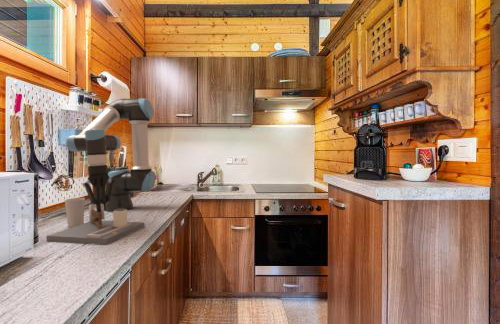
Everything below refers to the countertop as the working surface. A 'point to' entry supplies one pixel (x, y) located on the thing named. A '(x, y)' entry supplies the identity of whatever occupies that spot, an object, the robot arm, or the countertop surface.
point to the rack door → (96, 218)
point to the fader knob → (119, 217)
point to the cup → (75, 211)
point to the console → (95, 232)
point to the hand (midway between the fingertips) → (102, 218)
